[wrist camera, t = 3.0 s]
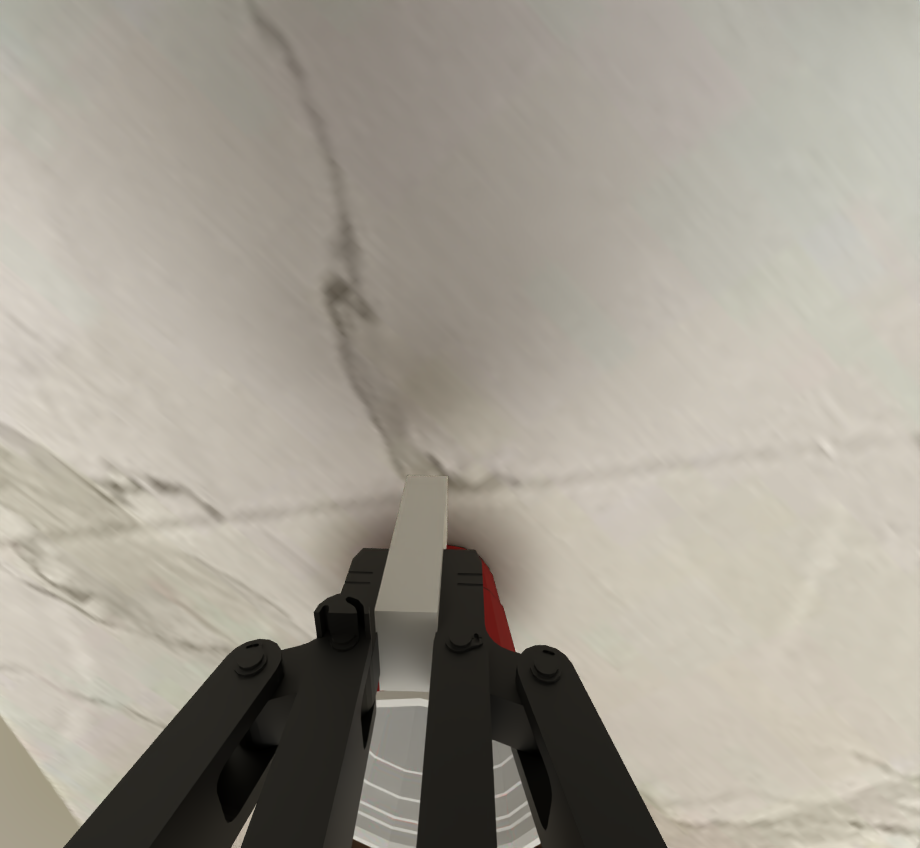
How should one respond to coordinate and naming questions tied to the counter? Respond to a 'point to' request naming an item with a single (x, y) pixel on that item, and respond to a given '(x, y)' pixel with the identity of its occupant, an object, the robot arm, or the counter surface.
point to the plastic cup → (402, 753)
